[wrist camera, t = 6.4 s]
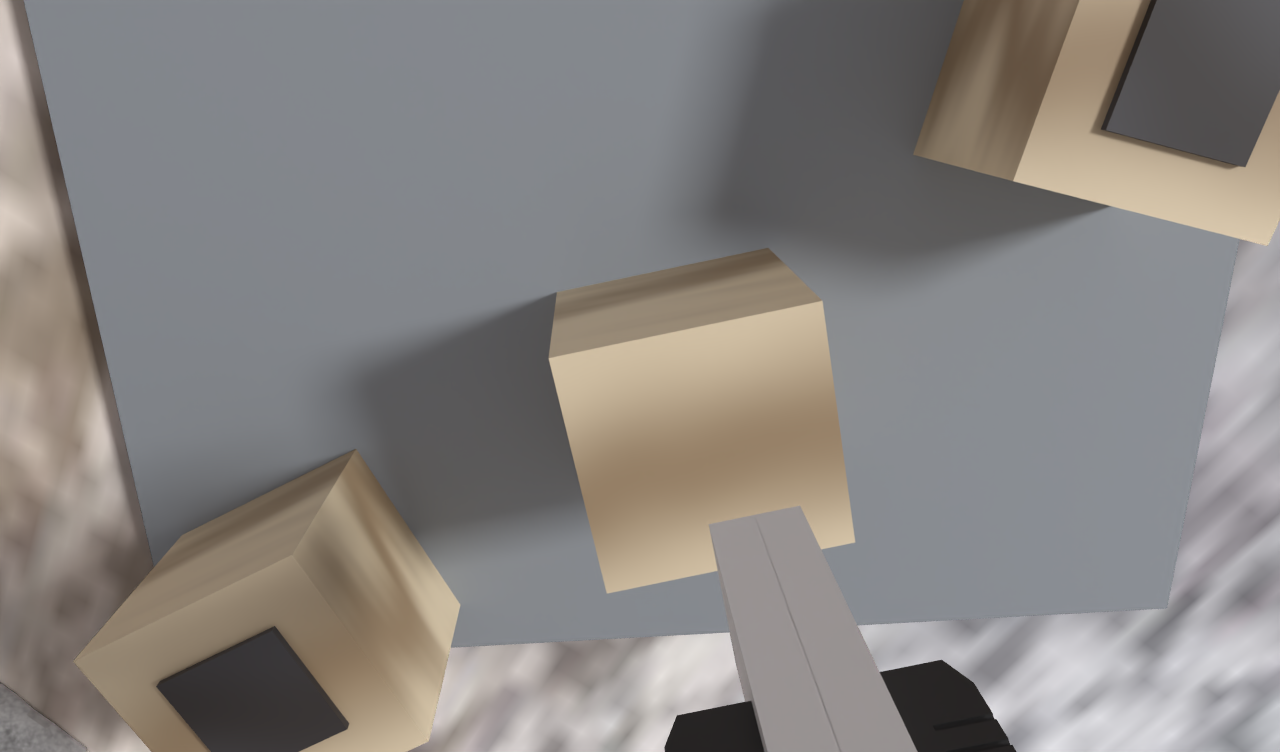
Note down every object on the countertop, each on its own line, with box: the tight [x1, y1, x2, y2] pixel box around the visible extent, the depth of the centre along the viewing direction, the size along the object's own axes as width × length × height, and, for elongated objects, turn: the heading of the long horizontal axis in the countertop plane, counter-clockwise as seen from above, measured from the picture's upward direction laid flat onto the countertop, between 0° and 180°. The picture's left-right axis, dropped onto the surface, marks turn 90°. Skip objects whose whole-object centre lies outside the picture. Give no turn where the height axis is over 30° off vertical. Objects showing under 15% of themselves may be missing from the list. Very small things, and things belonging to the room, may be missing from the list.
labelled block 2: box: [913, 0, 1280, 246], centre depth 21 cm, size 6×6×6 cm
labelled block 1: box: [73, 449, 460, 752], centre depth 24 cm, size 6×6×6 cm
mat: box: [24, 0, 1240, 648], centre depth 26 cm, size 20×32×1 cm, turn 91°
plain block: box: [549, 248, 855, 594], centre depth 23 cm, size 6×6×6 cm
